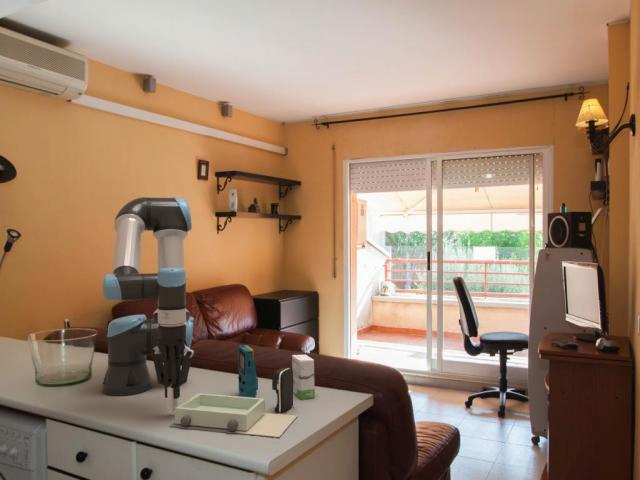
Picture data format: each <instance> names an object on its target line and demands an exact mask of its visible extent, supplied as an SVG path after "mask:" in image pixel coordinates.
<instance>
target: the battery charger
mask: <svg viewBox="0 0 640 480" xmlns="http://www.w3.org/2000/svg"><path fill="white" fill-rule="evenodd" d="M271 381H272V382H271V389H272V391H275V394H276V395H277V396H276V398H277V403H276V406H275V407H274V411H275V412H277V413H279V414H281V413H285V412H286V411H288V410H289V409H291V408H292V407H294V393H293V370H292V368H290V367H282V368H279V369H278V370H275V371H274V372H273V374H272V380H271Z"/></svg>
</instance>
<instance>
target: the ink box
mask: <svg viewBox="0 0 640 480" xmlns="http://www.w3.org/2000/svg"><path fill="white" fill-rule="evenodd" d="M291 362H292V363H291V367H292V368H291V369H292V370H293V394H295V395H296V396H297V397H298V398H299V399H300V400H306V399H315V397H316V395H315V393H316V392H315V359H313V358H312V357H310V356H308V355H307V354H292V355H291Z"/></svg>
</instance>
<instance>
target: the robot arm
mask: <svg viewBox="0 0 640 480" xmlns="http://www.w3.org/2000/svg"><path fill="white" fill-rule="evenodd" d="M190 209H191V208H190V204H189V202H188V200H187V199H185V198H180V197H179V198H178V197H175V196H174V197H147V196H145V197H143V196H142V197H137V198H134V199H133V200H130V201H129V202H127V203H126V204H124V205H123V206H122V207H121V208H120V210H119V211H118V212H117V214H116V216H115V219H114V223H113V224H114V226H113V227H114V230H115V232H116V237H115V246H114V257H113V263H112V265H113V266H112V273H109V274H105V275H104V277H103V278H102V295H103V299H104V300H106V301H114V302H115V301H117V302H120V301H138V300H140V301H141V300H157V309H156V310H155V311H154V312H153V314H152V318H149V319H148V318H147V315H146V314H133V315H126V316H123V317H118V318H115V319H113V320H111V321H110V322H109V323H108V326H107V335H106V337H107V369H106V372H105V374H104V378H103V381H102V385H101V391H102V394H105V395H109V396H117V397H118V396H131V395H136V394H141V393H144V392H147V391H148V390H151V389H152V388H153V380H152V375H151V373H150V370H149V367H148V364H147V356H151V357H152V360H153V366H154V371H155V375H156V380H157V383H158V384H159V385H162V386H164V397H165V399H166V400H167V401H166V402H167V405H166V406H167V407H166V409H167V412H171V413H172V412H175V408H176V407H178V399H179V398H180V396H181V386H183V385H184V384H186V383H187V382H188V378H189V377H188V376H189V374H190V373H189V372H190V368H191V363H192V359H193V357H194V355H195V354H196V350H195V349H191V345H192V339H193V332H194V319H195V318H194V317H193V316H190V311H189V310H188V309H187V277H186V276H187V274H186V270H185V268H184V267H185V265H184V263H185V262H184V239H186V237H187V236H188V232H190V231H191V230H192V229H193V228H192V227H193V226H192V225H193V224H192V217H191V210H190ZM145 231H151V232H152V236H153V237H154V239H156V240H157V273H155V272H153V273H152V272H151V273H149V272H148V273H140V272H141V271H140V270H141V251H142V250H141V248H142V234H144V232H145ZM183 353H184V354H183ZM182 355H183V357H182ZM181 362H182V363H181Z"/></svg>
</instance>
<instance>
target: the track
mask: <svg viewBox="0 0 640 480" xmlns="http://www.w3.org/2000/svg"><path fill="white" fill-rule="evenodd" d="M296 419H298V415H293V414H291V415H290V414H281V413H270V412H265V414H264V415H263V416H262V417H261V418H259V419H258V420H257V421H256V422H255V423H254V424H253V425H252V426H251V427H250V428H249V429H248V430H247V431H244V430H234V431H230V430H228V429H224V428H214V427H204V426H194V425H188V426H183V425H182V424H175V421H174V422H173V423H171V424H170V425H169V427H170V428H178V429H187V430H194V431H195V430H197V431H204V432H205V431H206V432H217V433H226V434H237V435H244V436H253V437H262V438H263V437H264V438H272V439H273V438H274V439H280V438H281V436H283V434H284V433H285V432H286V431H287V430H288V429H289V428H290V426H291V425H292V424H293V423H294V422H295V421H296Z"/></svg>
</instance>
